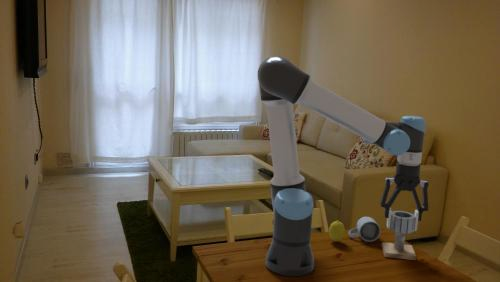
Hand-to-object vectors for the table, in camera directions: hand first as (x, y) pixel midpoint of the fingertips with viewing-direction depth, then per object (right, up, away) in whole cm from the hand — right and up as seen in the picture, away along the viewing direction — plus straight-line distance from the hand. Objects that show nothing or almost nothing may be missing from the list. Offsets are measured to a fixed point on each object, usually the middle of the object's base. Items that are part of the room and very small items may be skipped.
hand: (401, 228), depth 157 cm
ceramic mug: (-10, -6, +14) cm, 18 cm away
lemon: (-21, -7, +9) cm, 23 cm away
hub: (0, 0, 0) cm, 0 cm away
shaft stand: (0, -9, +2) cm, 9 cm away
